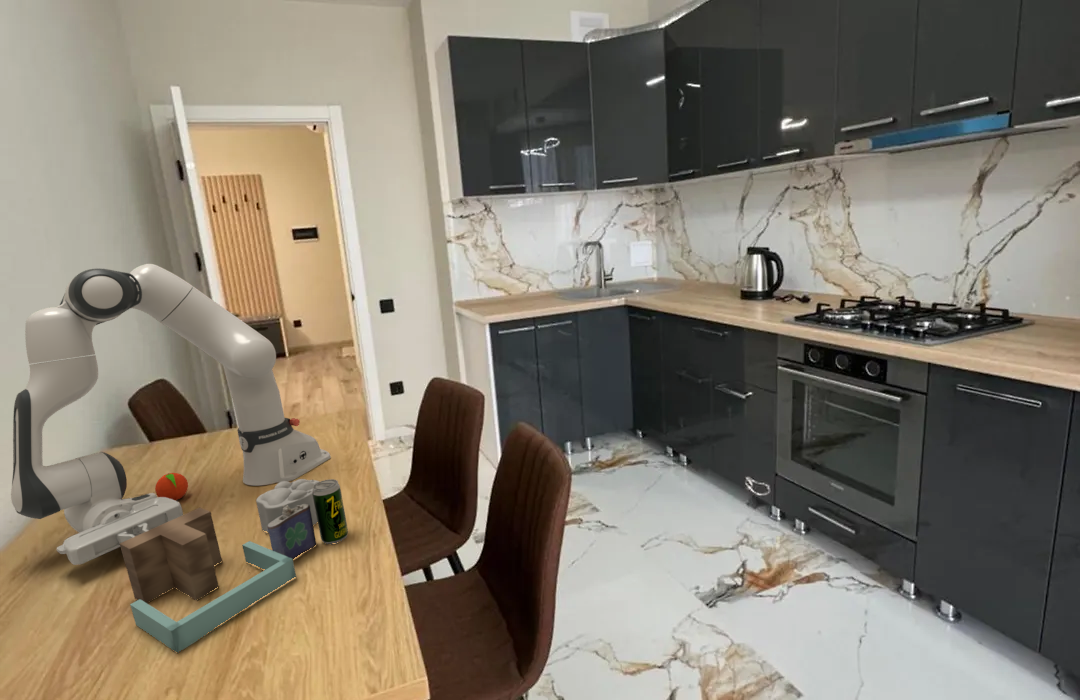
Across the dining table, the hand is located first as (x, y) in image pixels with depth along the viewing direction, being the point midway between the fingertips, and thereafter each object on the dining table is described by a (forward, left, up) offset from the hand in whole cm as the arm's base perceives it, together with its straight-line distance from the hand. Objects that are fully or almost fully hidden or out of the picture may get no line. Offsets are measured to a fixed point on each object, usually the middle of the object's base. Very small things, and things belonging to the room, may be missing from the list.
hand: (142, 538), depth 115 cm
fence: (0, +26, -5) cm, 27 cm away
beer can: (-23, +28, -6) cm, 37 cm away
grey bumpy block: (-24, +14, -6) cm, 28 cm away
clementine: (-17, -26, -6) cm, 31 cm away
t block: (0, +16, -5) cm, 17 cm away
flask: (-15, +26, -6) cm, 31 cm away
